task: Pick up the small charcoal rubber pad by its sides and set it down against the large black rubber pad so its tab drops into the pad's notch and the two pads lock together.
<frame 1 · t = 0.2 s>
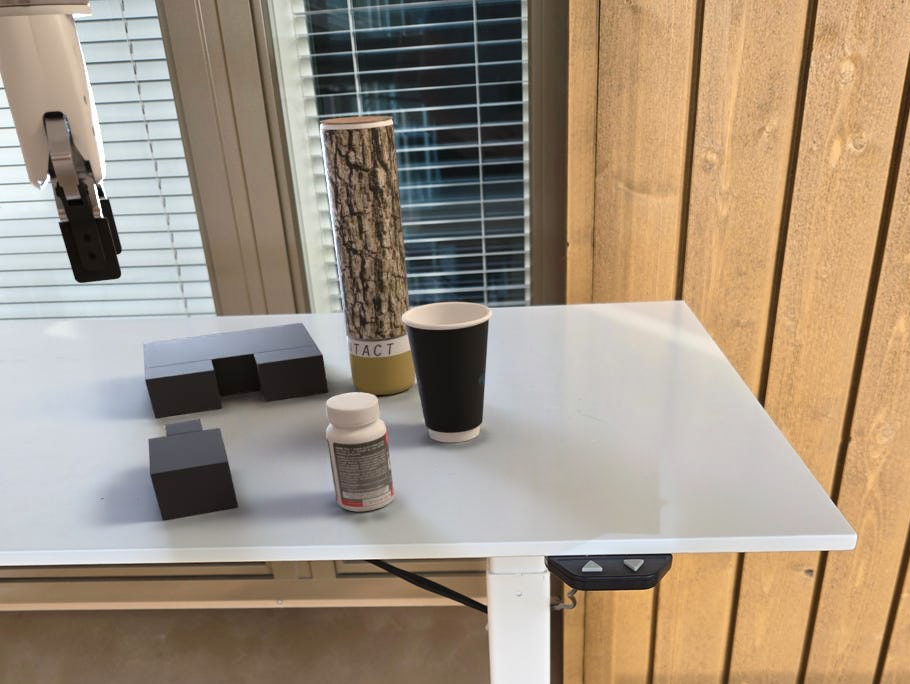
hand: (101, 267, 68), 18 cm above the table, tool pointing down, fingers open, 9 cm apart
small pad: (197, 494, 75), on the table
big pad: (237, 385, 98), on the table
pill bottle: (365, 502, 73), on the table
dixie cup: (454, 434, 84), on the table
paper tube: (385, 388, 96), on the table
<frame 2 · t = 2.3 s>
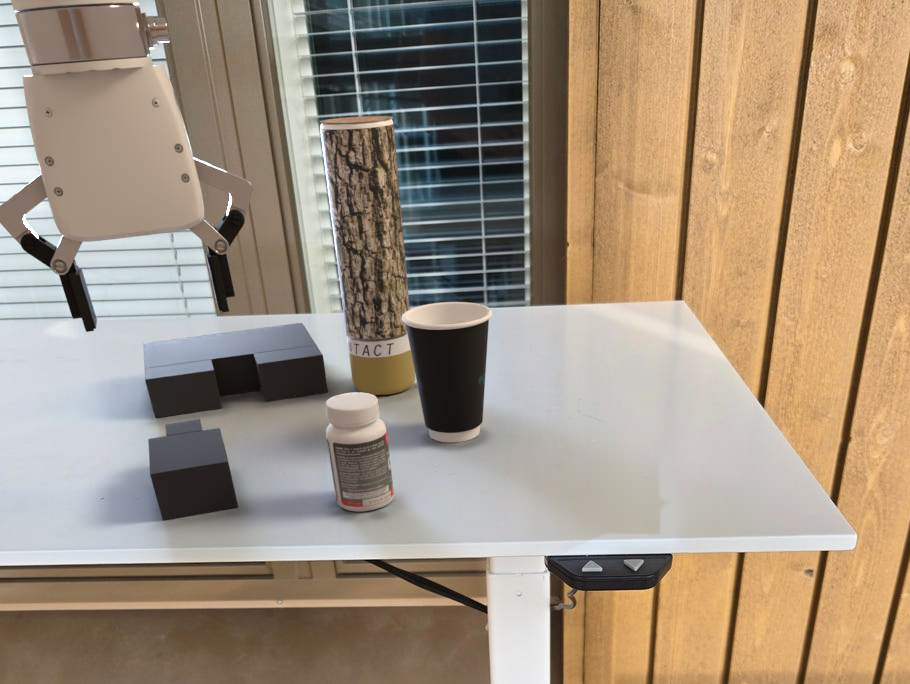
hand: (158, 317, 67), 15 cm above the table, tool pointing down, fingers open, 9 cm apart
nothing on the table moved.
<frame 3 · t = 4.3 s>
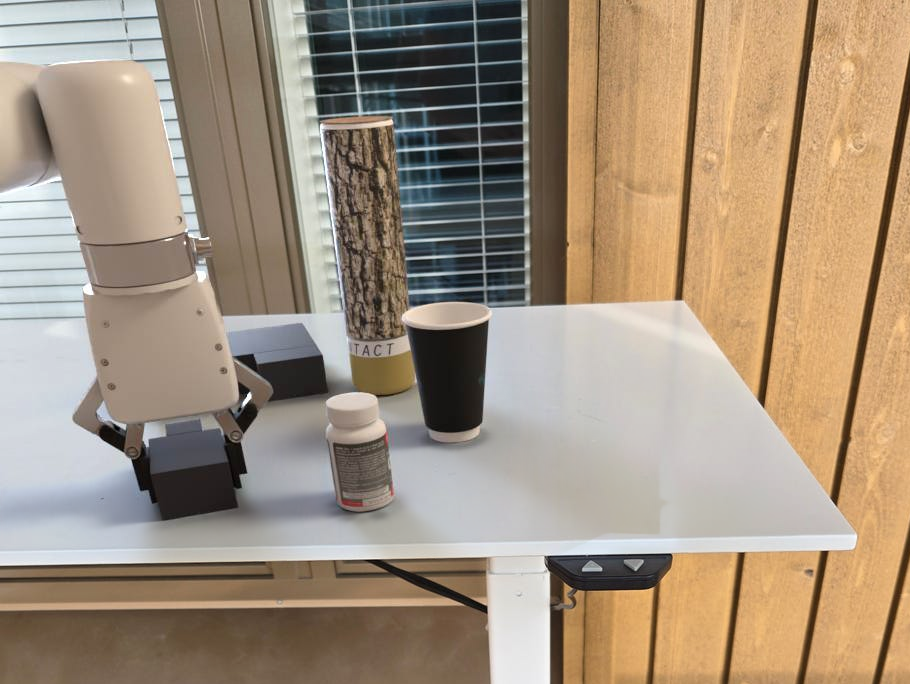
hand: (196, 487, 75), 1 cm above the table, tool pointing down, fingers closed on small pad, 6 cm apart
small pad: (197, 494, 75), on the table, touching gripper
everything else where it was.
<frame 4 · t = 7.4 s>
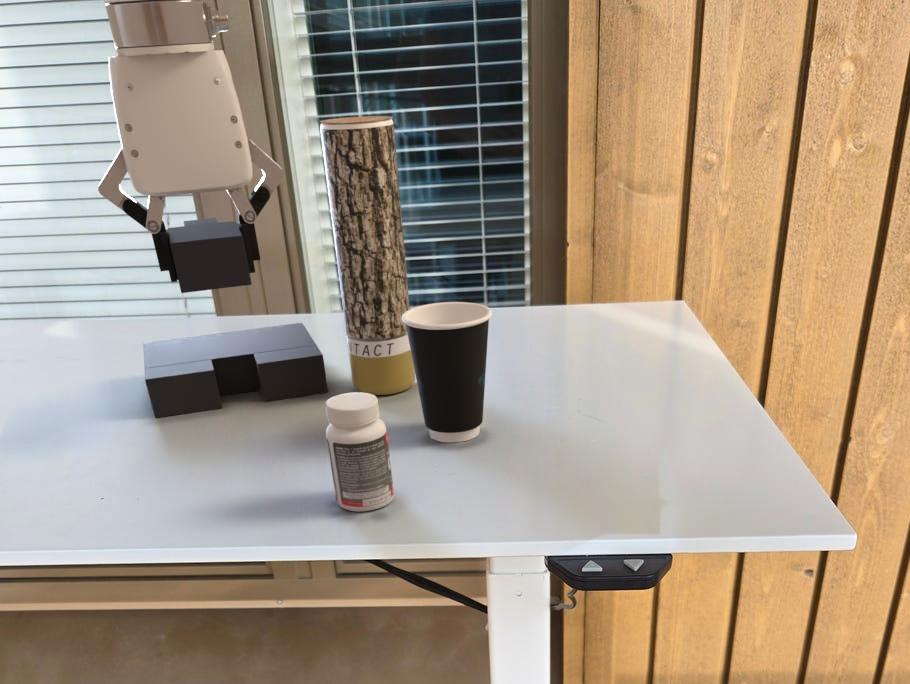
hand: (212, 272, 80), 14 cm above the table, tool pointing down, fingers closed on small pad, 6 cm apart
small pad: (213, 279, 80), point 14 cm above the table, touching gripper
everything else where it was.
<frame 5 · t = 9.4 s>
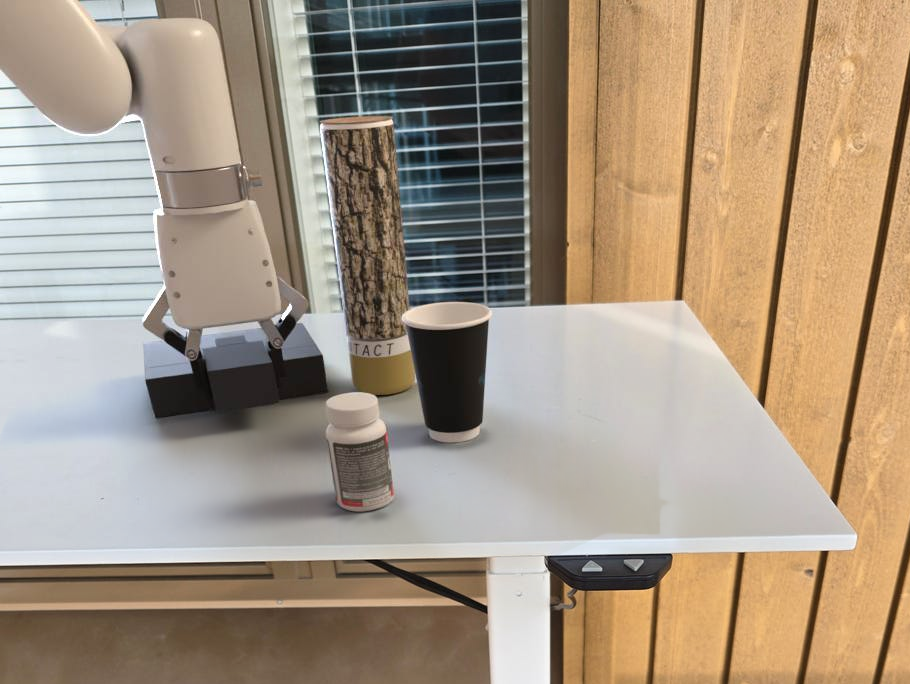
hand: (242, 389, 88), 3 cm above the table, tool pointing down, fingers closed on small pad, 6 cm apart
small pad: (244, 395, 88), point 2 cm above the table, touching gripper
everything else where it was.
when the fingers open (1 cm above the table, at t = 10.6 s): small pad stays where it is, on the table.
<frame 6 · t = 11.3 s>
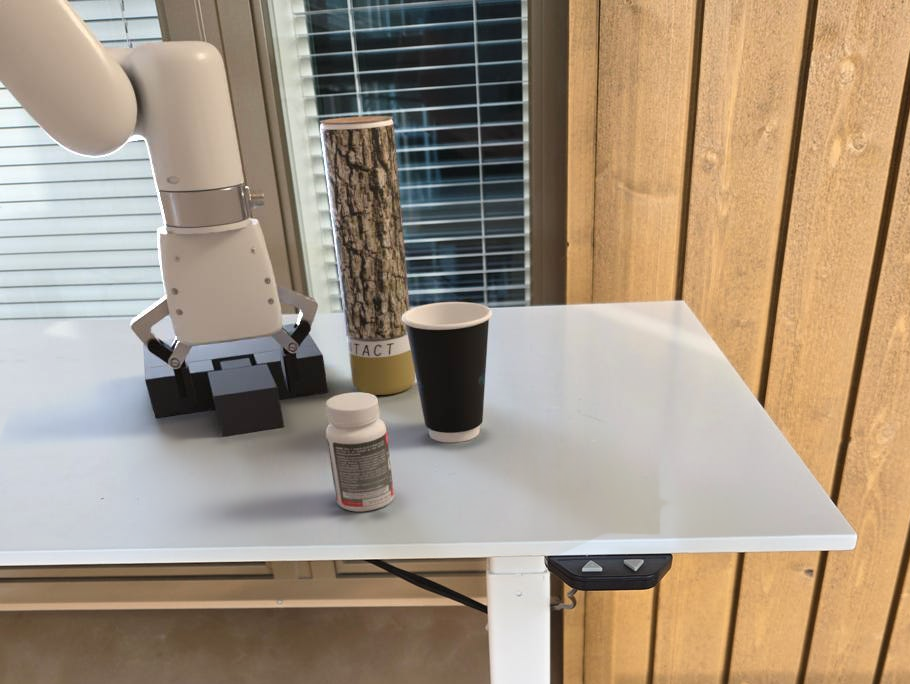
hand: (242, 397, 88), 2 cm above the table, tool pointing down, fingers open, 9 cm apart
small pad: (249, 418, 89), on the table
everything else where it was.
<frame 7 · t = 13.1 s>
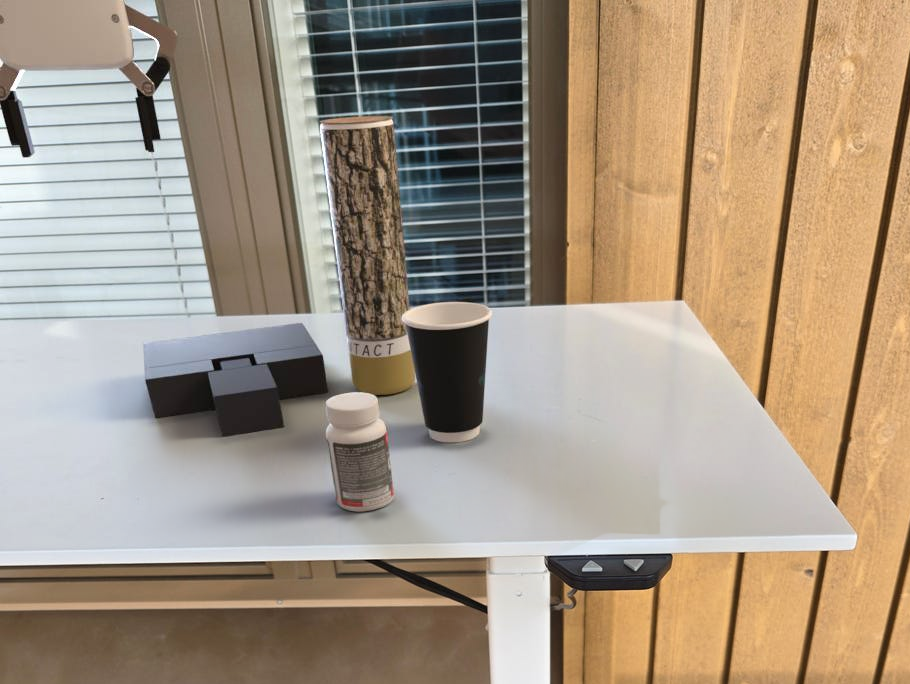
hand: (90, 153, 74), 24 cm above the table, tool pointing down, fingers open, 9 cm apart
nothing on the table moved.
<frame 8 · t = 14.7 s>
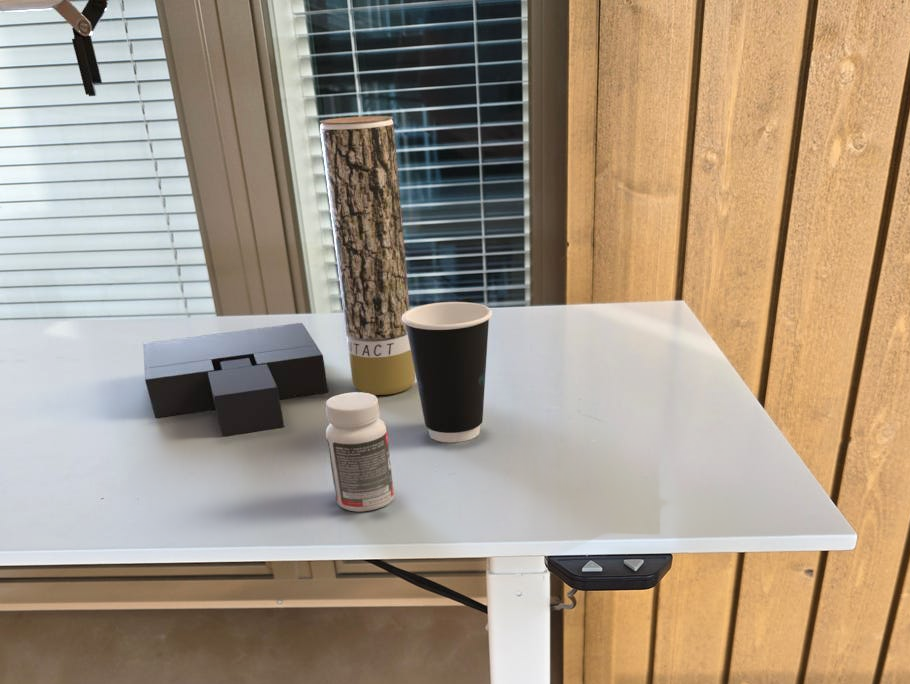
hand: (29, 99, 72), 28 cm above the table, tool pointing down, fingers open, 9 cm apart
nothing on the table moved.
at the end: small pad 0.1 cm from the target spot on the table beside the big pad, on the table; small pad tilted 0°; the gripper is holding nothing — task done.
